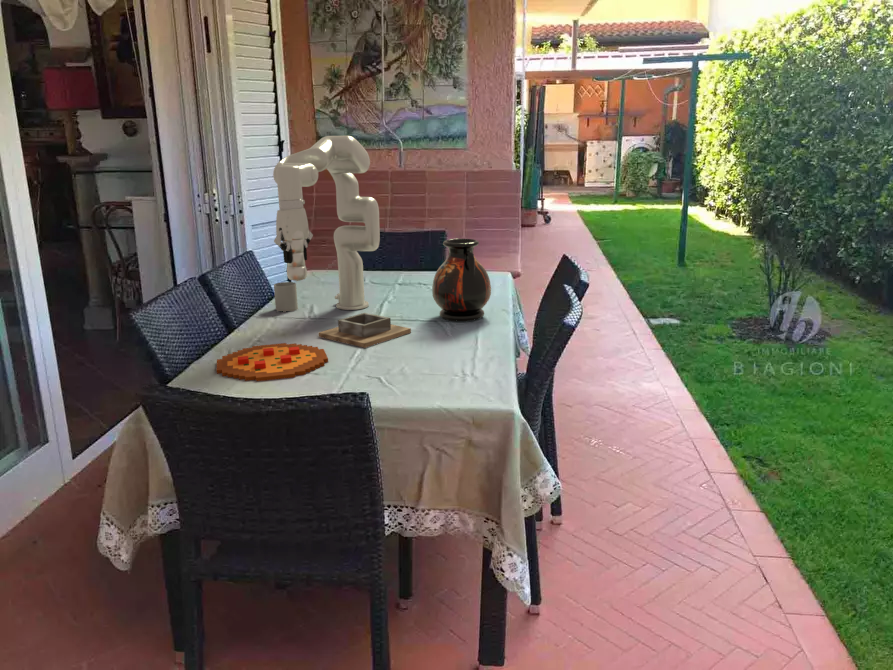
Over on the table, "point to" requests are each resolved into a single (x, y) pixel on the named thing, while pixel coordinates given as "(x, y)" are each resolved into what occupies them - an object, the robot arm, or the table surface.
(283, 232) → the robot arm
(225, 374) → the pizza
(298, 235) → the plastic bottle
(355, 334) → the collar board
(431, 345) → the table surface
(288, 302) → the cup
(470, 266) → the amphora vase
